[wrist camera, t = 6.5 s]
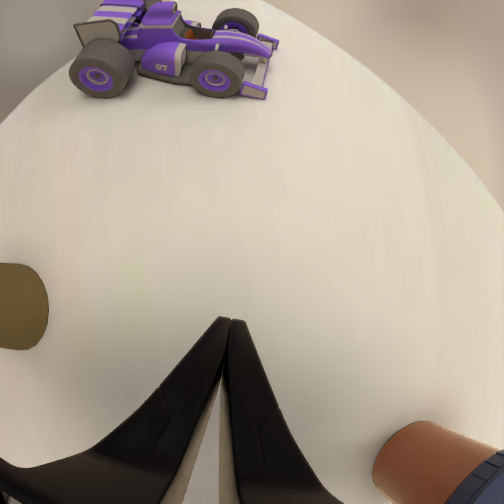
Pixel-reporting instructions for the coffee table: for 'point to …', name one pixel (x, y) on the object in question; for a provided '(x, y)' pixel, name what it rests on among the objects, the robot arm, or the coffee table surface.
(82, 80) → the toy race car
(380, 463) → the jar
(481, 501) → the jar lid
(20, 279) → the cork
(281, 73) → the coffee table surface
